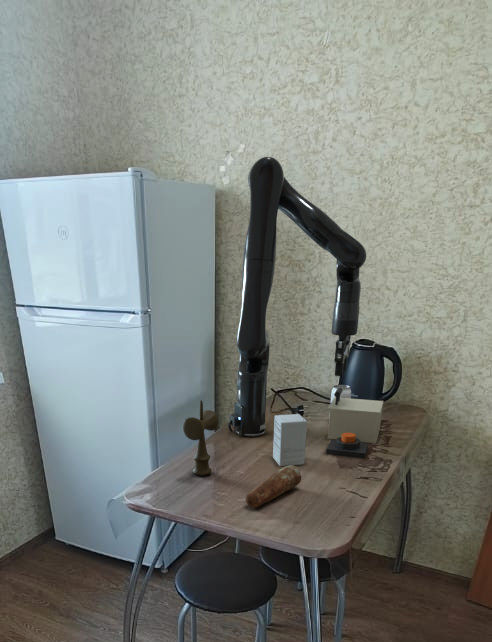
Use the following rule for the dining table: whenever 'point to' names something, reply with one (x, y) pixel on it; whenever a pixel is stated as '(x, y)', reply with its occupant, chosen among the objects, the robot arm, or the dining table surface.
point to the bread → (274, 486)
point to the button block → (347, 448)
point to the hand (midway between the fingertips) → (340, 373)
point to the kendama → (201, 437)
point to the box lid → (354, 405)
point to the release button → (348, 437)
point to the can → (345, 393)
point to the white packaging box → (289, 439)
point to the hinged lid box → (354, 425)
